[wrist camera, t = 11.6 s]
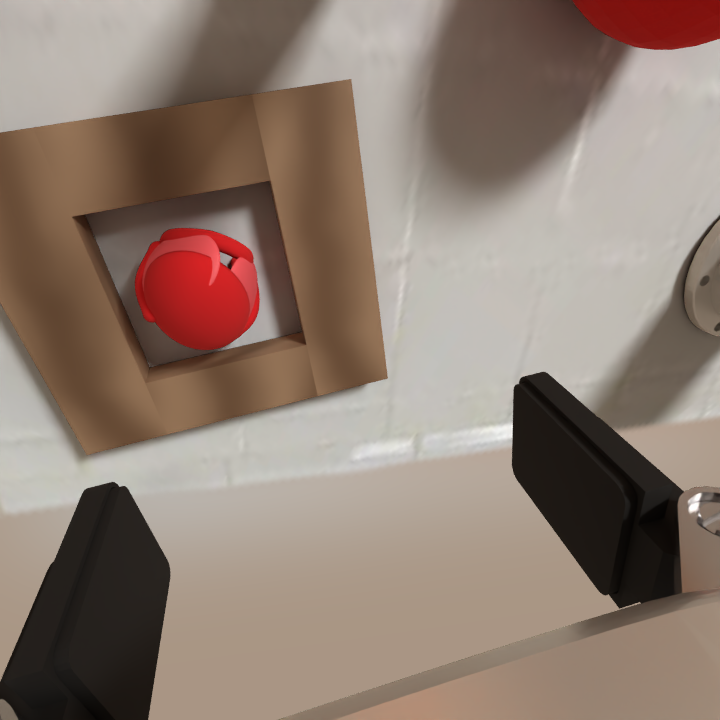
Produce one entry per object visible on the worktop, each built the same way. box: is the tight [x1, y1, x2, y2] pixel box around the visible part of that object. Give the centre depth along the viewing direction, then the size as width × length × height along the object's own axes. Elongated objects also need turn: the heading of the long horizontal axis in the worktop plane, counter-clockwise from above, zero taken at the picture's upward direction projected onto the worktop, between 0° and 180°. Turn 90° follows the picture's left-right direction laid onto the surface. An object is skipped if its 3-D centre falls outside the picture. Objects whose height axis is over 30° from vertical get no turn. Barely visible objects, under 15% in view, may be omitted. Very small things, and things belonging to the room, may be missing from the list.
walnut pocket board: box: [0, 79, 388, 455], centre depth 27 cm, size 20×18×2 cm
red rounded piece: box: [135, 228, 260, 350], centre depth 26 cm, size 8×6×6 cm
